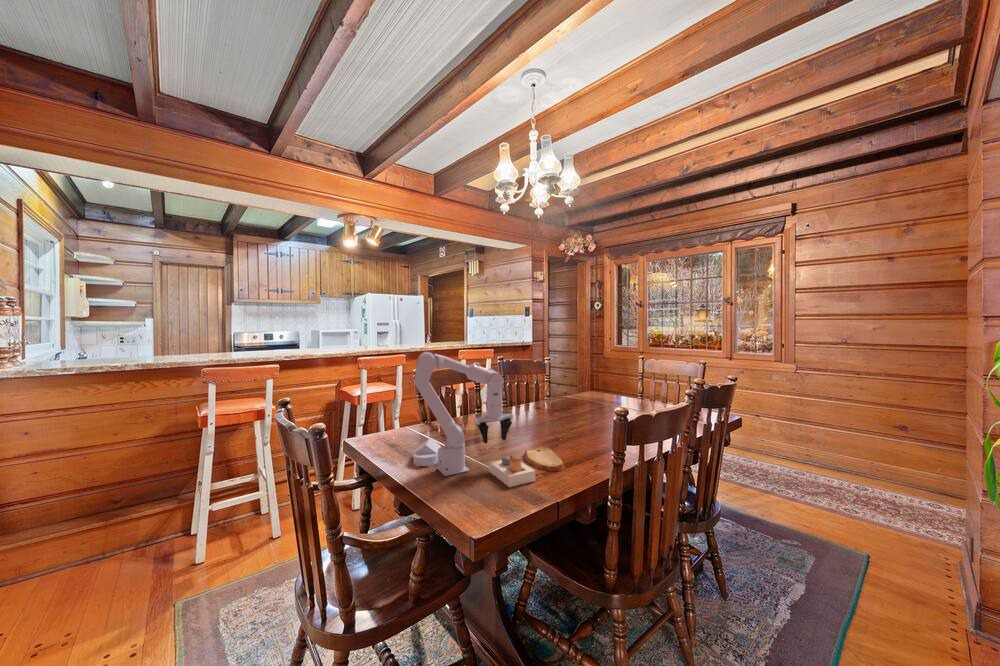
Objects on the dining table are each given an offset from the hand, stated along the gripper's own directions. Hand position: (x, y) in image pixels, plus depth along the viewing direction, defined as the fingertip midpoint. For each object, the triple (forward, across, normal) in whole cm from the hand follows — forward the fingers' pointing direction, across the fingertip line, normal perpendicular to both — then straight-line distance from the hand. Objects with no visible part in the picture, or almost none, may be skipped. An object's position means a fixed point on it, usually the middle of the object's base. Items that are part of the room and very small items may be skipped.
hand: (494, 441), depth 142 cm
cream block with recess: (+9, +1, -11) cm, 15 cm away
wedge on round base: (+10, -20, +18) cm, 29 cm away
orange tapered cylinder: (+9, +1, -14) cm, 16 cm away
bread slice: (+10, +19, -4) cm, 22 cm away
